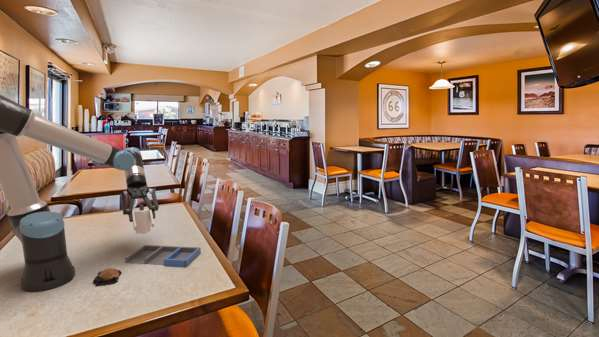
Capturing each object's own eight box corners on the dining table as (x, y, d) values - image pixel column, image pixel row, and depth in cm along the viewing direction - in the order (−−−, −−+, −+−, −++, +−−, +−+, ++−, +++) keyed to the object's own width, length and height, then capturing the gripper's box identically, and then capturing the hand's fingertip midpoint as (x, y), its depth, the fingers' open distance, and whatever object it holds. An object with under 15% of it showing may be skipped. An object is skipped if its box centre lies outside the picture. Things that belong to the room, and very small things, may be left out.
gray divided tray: (185, 267, 124) (184, 260, 124) (123, 264, 127) (123, 257, 127) (200, 253, 138) (200, 246, 138) (144, 250, 141) (144, 243, 141)
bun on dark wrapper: (97, 275, 120) (96, 266, 119) (122, 271, 123) (122, 262, 122) (91, 289, 110) (90, 279, 109) (119, 284, 113) (118, 274, 112)
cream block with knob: (145, 233, 130) (143, 206, 128) (135, 233, 130) (133, 205, 128) (150, 230, 134) (149, 203, 132) (141, 230, 134) (139, 203, 132)
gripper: (158, 182, 147) (168, 227, 136) (110, 186, 137) (116, 235, 126) (160, 172, 142) (170, 218, 131) (110, 175, 132) (117, 226, 121)
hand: (144, 226), depth 128 cm, fingers closed on cream block with knob, 6 cm apart
